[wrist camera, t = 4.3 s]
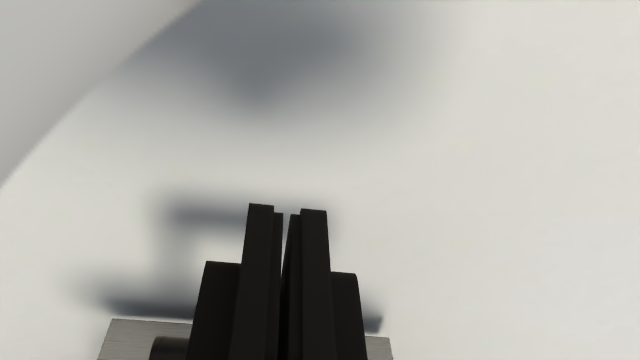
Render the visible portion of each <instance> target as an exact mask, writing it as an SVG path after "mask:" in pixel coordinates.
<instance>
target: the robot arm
mask: <svg viewBox="0 0 640 360" xmlns="http://www.w3.org/2000/svg"><path fill="white" fill-rule="evenodd" d="M282 234H283V213H276V212H274V206H273V205H263V204H253V203H249V208H248V216H247V224H246V231H245V239H244V247H243V254H242V262H241V264H238V263H227V262H215V261H206V264H205V268H204V272H203V277H202V282H201V286H200V291H199V296H198V301H197V305H196V310H195V315H194V319H193V324H192V329H191V334H190V338H189V343H188V348H187V352H186V357H185V360H368V358H367V350H366V342H365V334H364V326H363V319H362V311H361V303H360V295H359V287H358V281H357V276H356V274H354V273H343V272H331V269H330V255H329V240H328V226H327V214H326V211H323V210H313V209H303V208H301V211H300V215H296V214H291V216H290V221H289V228H288V234H287V241H286V248H285V254H284V261H283V267H282V274H281V259H282Z"/></svg>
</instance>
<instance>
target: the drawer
mask: <svg viewBox="0 0 640 360" xmlns="http://www.w3.org/2000/svg"><path fill="white" fill-rule="evenodd" d="M191 329H192V324H185V323H171V322H156V321H142V320H127V319H112V320H111V323H110V325H109V328H108V331H107V334H106V336H105V339H104V342H103V345H102V347H101V350H100V353H99V356H98V358H97V360H185V357H186V352H187V348H188V343H189V338H190V334H191ZM365 342H366V350H367V358H368V360H393V357H392V351H391V345H390V340H389V338H387V337H372V336H365Z"/></svg>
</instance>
